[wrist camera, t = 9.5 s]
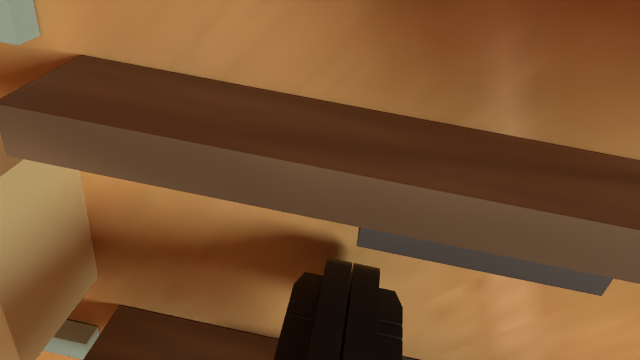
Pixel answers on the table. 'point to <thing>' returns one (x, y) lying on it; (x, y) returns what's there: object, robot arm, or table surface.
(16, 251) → the block
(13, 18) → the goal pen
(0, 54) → the table surface
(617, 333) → the table surface
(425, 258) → the chute
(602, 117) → the table surface
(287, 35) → the table surface
